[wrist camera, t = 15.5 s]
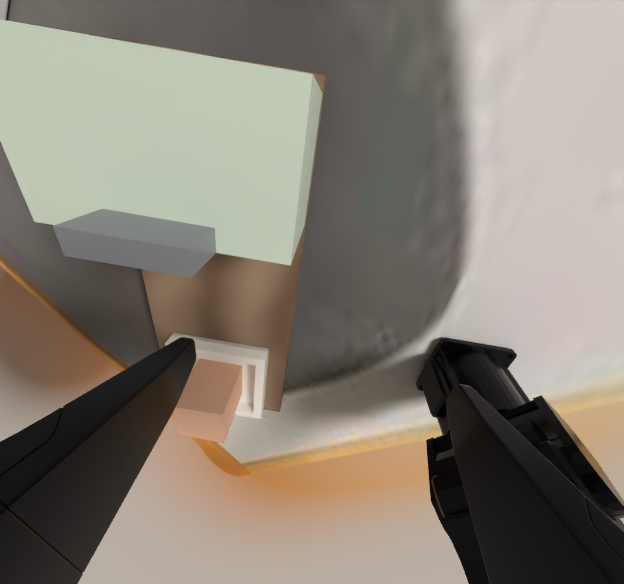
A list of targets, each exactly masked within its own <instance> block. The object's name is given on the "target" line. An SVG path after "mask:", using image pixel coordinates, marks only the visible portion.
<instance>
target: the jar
mask: <svg viewBox="0 0 624 584" xmlns="http://www.w3.org/2000/svg"><path fill="white" fill-rule="evenodd" d="M8 4H9V0H0V20H6V19H7V11H8Z"/></svg>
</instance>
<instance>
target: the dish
mask: <svg viewBox="0 0 624 584" xmlns="http://www.w3.org/2000/svg"><path fill="white" fill-rule="evenodd" d="M180 337H186V338H192V339H194V341H195V348H196V361H195V364H194V366H193V369H194V367H195V365H196V364H197V362H198V360H199V359H200V358H201V359H206V360H212V361H218V362H224V363H230V364H236V365H242V395H241V398H240V400H239V403H238V406H237V409H236V412H235V414H234V415H239V416H245V417H251V418H257V419H261V417H262V413H263V409H264V403H265V391H266V378H267V366H268V354H269V349H267V348H261V347H255V346H249V345H244V344H238V343H232V342H226V341H220V340H214V339H208V338H202V337H196V336H191V335H185V334H179V333H173V334H172V335H171V337H170V338H169V339H168V340H167V342H166V343H165V346H166V345H168V344H170V343H171V342H173V341H175V340H177V339H178V338H180ZM193 369H192V370H193ZM191 372H192V371H191ZM190 374H191V373H190Z"/></svg>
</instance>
